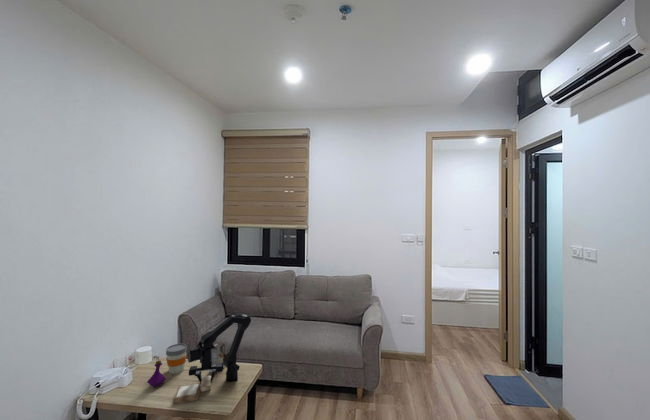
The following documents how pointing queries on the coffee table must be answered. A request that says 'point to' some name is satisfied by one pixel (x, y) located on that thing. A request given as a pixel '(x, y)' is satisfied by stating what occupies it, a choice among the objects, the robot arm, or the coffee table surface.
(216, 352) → the coffee box
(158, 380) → the perfume bottle
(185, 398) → the base slab
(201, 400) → the coffee table surface
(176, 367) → the reusable coffee cup
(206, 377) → the oak block
